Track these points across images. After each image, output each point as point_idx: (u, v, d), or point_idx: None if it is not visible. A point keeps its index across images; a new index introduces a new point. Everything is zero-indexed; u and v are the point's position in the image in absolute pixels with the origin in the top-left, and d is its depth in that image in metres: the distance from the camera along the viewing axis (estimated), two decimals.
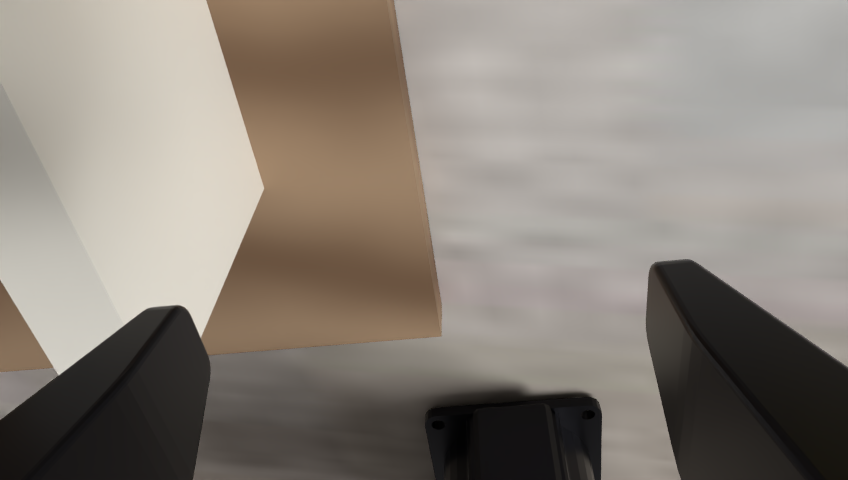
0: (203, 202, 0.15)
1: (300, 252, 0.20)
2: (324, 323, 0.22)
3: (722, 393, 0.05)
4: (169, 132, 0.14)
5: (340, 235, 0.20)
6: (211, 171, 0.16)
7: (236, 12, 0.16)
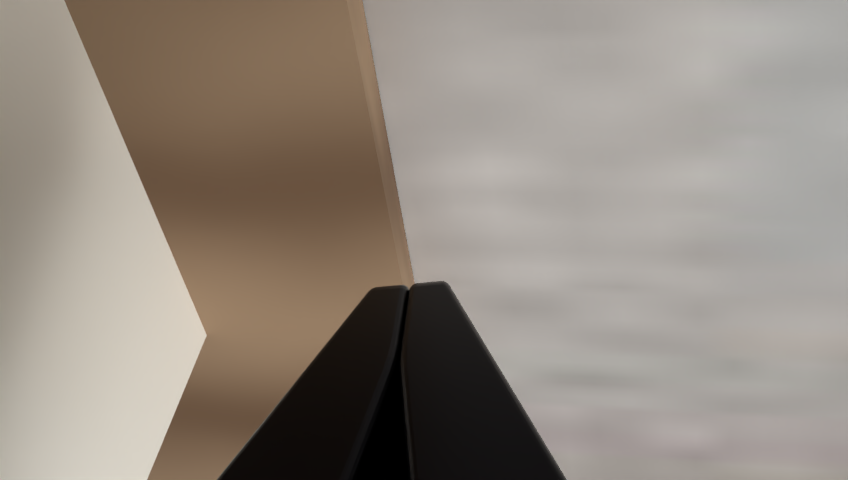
0: (93, 417, 0.10)
1: (259, 407, 0.15)
2: None
3: None
4: (23, 340, 0.09)
5: None
6: (108, 360, 0.11)
7: (153, 118, 0.11)
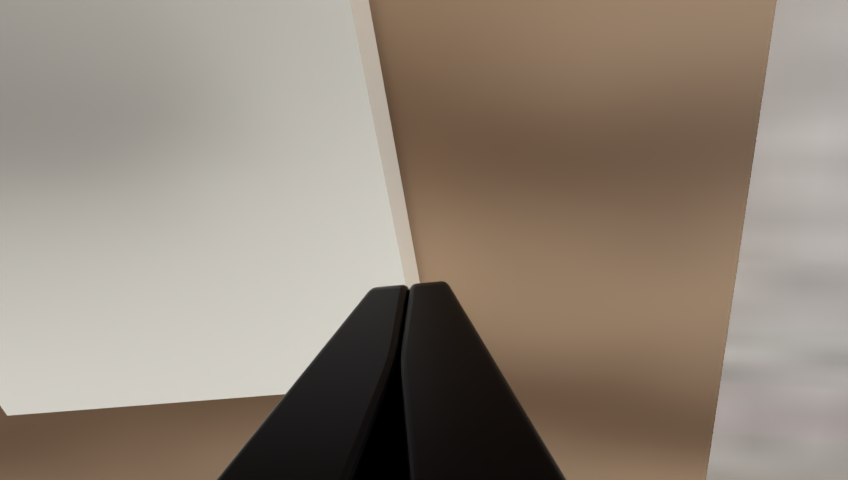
0: (189, 322, 0.12)
1: (541, 388, 0.15)
2: None
3: None
4: (129, 234, 0.11)
5: (603, 368, 0.14)
6: (233, 305, 0.11)
7: (532, 75, 0.11)
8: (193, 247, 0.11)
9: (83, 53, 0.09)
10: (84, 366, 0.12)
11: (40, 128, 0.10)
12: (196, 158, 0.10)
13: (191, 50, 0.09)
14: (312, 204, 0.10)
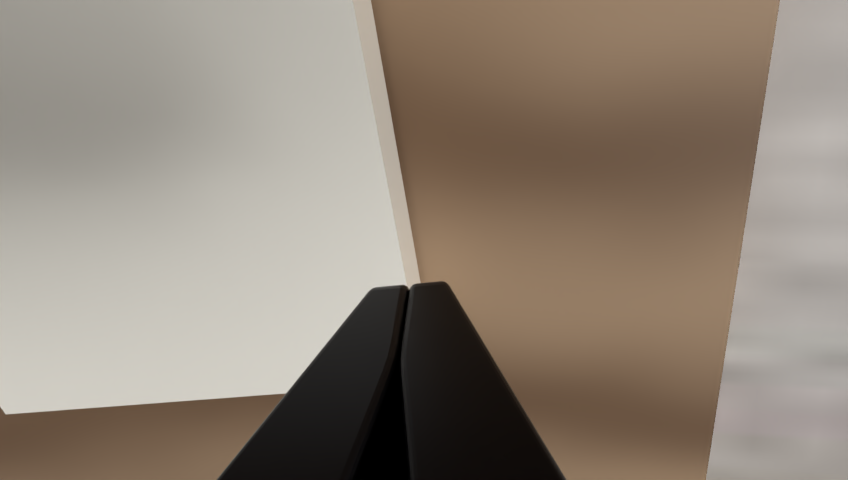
0: (189, 321, 0.12)
1: (542, 388, 0.15)
2: None
3: None
4: (128, 233, 0.11)
5: (603, 368, 0.14)
6: (233, 304, 0.11)
7: (534, 74, 0.11)
8: (193, 245, 0.11)
9: (83, 50, 0.09)
10: (83, 365, 0.12)
11: (40, 125, 0.10)
12: (197, 156, 0.10)
13: (192, 47, 0.09)
14: (313, 203, 0.10)
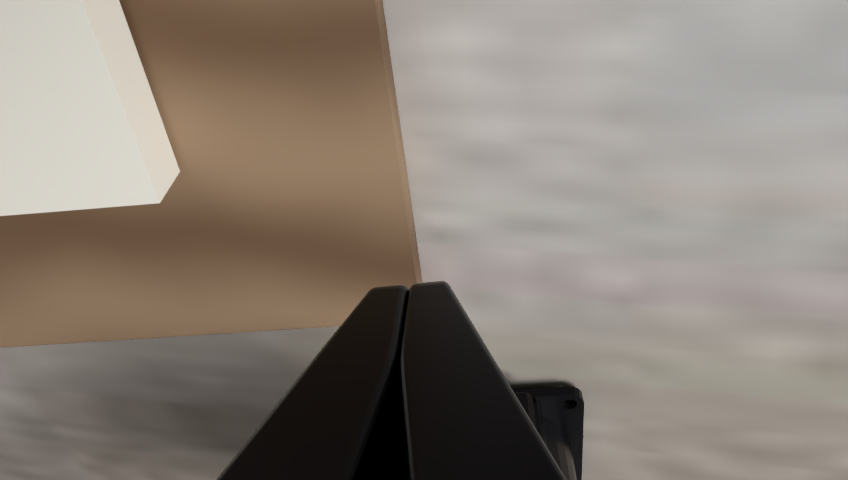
0: None
1: (278, 231, 0.20)
2: (302, 305, 0.21)
3: None
4: None
5: (320, 214, 0.20)
6: (12, 135, 0.16)
7: None
8: None
9: None
10: None
11: None
12: None
13: None
14: (51, 56, 0.15)
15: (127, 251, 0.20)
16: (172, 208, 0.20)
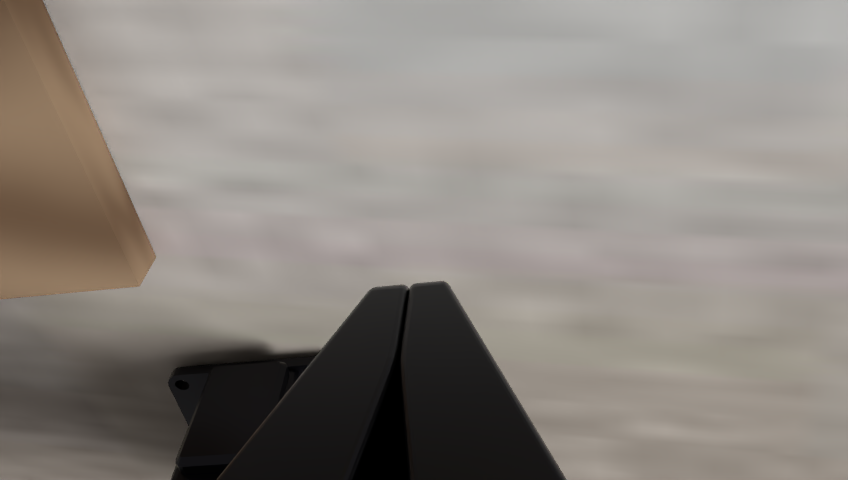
0: None
1: None
2: (15, 272, 0.21)
3: None
4: None
5: (0, 176, 0.19)
6: None
7: None
8: None
9: None
10: None
11: None
12: None
13: None
14: None
15: None
16: None
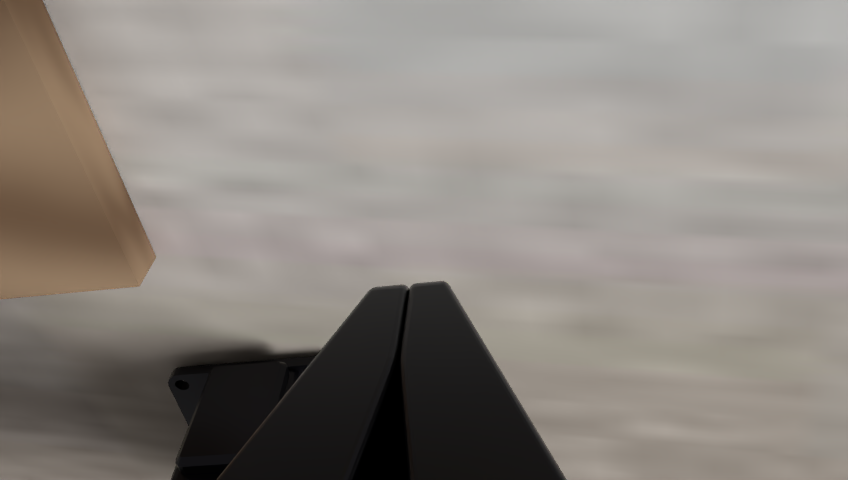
0: None
1: None
2: (15, 272, 0.21)
3: None
4: None
5: (0, 176, 0.19)
6: None
7: None
8: None
9: None
10: None
11: None
12: None
13: None
14: None
15: None
16: None
